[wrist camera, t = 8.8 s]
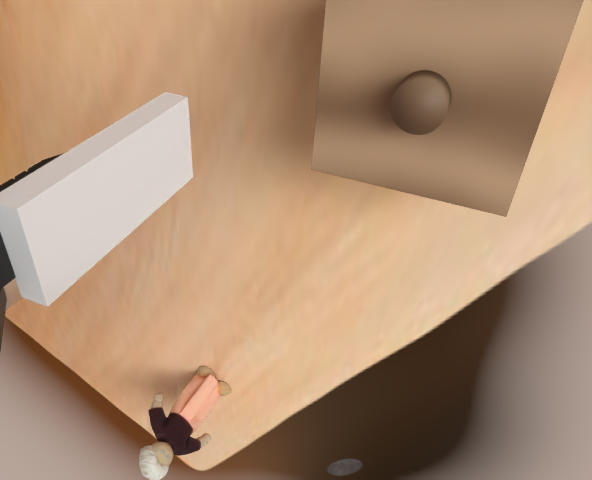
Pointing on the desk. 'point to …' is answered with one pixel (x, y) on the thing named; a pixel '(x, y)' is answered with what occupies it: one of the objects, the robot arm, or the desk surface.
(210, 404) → the grandmother figurine
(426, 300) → the desk surface
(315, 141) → the lid
